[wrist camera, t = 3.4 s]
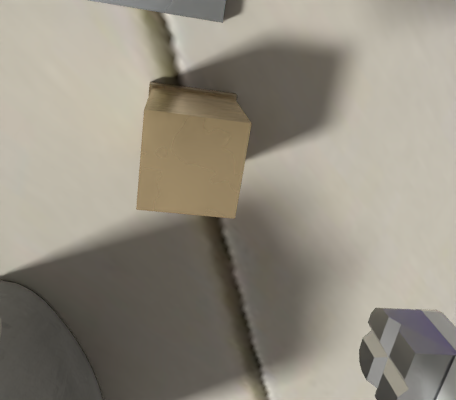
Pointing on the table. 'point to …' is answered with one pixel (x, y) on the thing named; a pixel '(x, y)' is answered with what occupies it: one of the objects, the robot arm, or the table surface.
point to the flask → (39, 352)
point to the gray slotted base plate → (178, 7)
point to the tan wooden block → (192, 151)
